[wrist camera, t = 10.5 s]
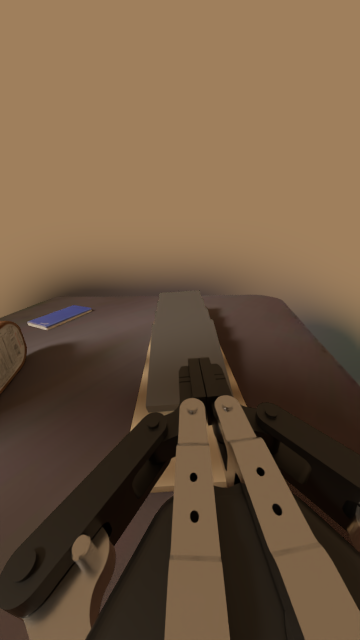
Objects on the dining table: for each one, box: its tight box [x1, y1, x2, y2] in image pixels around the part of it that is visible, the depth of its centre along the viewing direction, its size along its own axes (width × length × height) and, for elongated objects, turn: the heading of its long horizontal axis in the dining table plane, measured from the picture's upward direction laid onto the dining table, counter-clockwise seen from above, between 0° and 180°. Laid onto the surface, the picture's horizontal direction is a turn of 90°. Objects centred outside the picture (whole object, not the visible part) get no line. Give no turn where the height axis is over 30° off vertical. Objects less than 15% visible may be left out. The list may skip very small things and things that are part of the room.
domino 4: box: [146, 320, 234, 413], centre depth 24 cm, size 2×9×12 cm
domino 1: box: [159, 291, 201, 301], centre depth 38 cm, size 2×9×12 cm
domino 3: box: [155, 308, 210, 324], centre depth 28 cm, size 2×9×12 cm
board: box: [130, 322, 247, 493], centre depth 28 cm, size 30×12×1 cm, turn 2°
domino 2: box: [157, 298, 205, 311], centre depth 33 cm, size 2×9×12 cm
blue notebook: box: [27, 305, 92, 330], centre depth 49 cm, size 2×8×12 cm
